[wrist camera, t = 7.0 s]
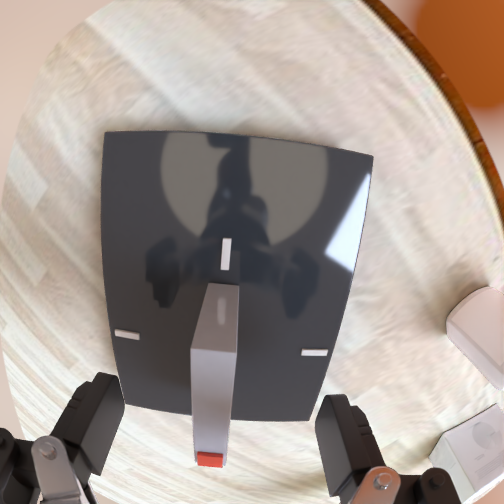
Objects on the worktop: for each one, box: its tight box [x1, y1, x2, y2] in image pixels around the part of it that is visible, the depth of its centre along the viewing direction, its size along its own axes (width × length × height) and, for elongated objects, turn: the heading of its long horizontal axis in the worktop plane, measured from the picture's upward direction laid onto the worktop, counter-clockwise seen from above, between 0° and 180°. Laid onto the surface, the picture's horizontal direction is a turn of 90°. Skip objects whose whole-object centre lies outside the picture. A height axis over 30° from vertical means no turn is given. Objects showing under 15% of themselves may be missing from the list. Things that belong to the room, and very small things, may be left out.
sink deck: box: [101, 130, 374, 422], centre depth 15 cm, size 16×12×3 cm
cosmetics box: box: [429, 404, 504, 504], centre depth 19 cm, size 10×6×10 cm, turn 97°
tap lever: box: [190, 283, 239, 468], centre depth 11 cm, size 7×1×5 cm, turn 174°
